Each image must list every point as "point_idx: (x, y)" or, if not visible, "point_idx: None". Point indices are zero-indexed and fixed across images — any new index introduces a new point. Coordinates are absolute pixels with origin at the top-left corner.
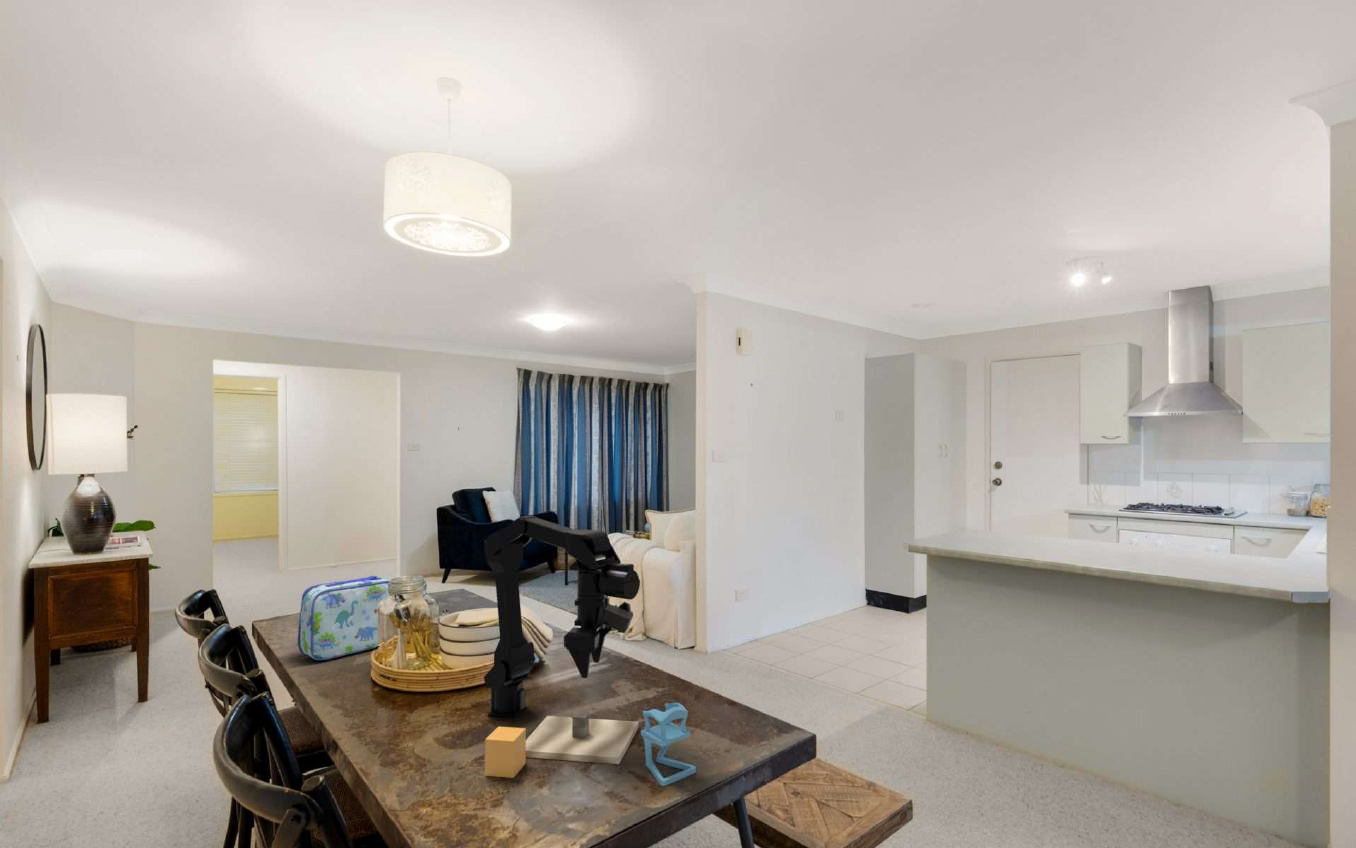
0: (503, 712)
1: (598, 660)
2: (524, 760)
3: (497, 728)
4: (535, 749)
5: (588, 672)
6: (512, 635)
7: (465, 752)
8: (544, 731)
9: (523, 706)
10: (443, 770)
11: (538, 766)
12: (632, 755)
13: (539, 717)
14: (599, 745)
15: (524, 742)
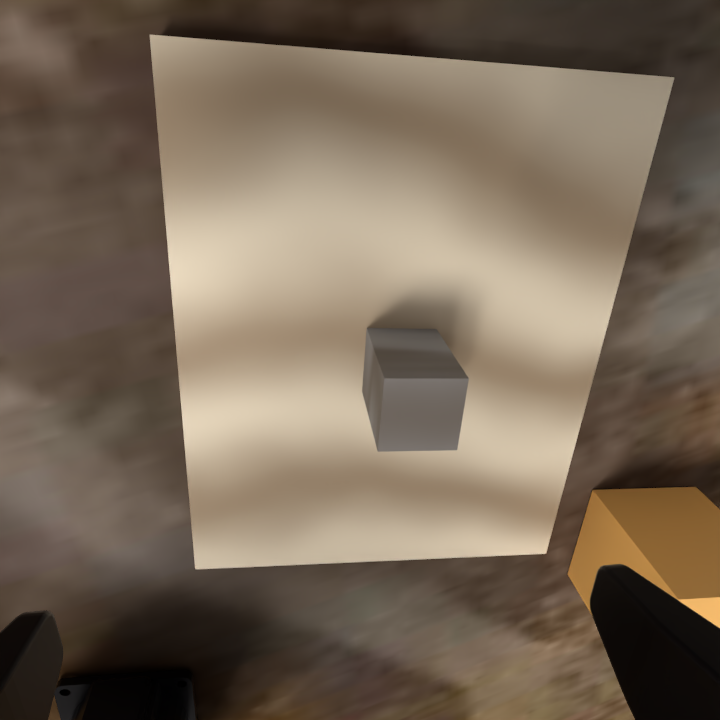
0: (185, 718)
1: (40, 636)
2: (612, 500)
3: None
4: (545, 496)
5: (648, 603)
6: None
7: (495, 678)
8: (368, 524)
9: (112, 685)
10: (609, 675)
11: (619, 440)
12: (552, 12)
13: (160, 592)
14: (518, 230)
15: (656, 552)
